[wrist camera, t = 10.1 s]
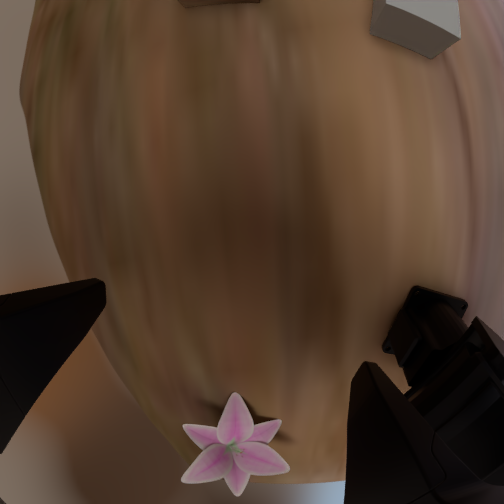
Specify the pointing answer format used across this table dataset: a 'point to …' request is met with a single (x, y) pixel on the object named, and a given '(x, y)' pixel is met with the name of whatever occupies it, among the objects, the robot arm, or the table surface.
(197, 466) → the lily
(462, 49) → the table surface
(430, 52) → the slate-grey block
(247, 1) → the walnut block
